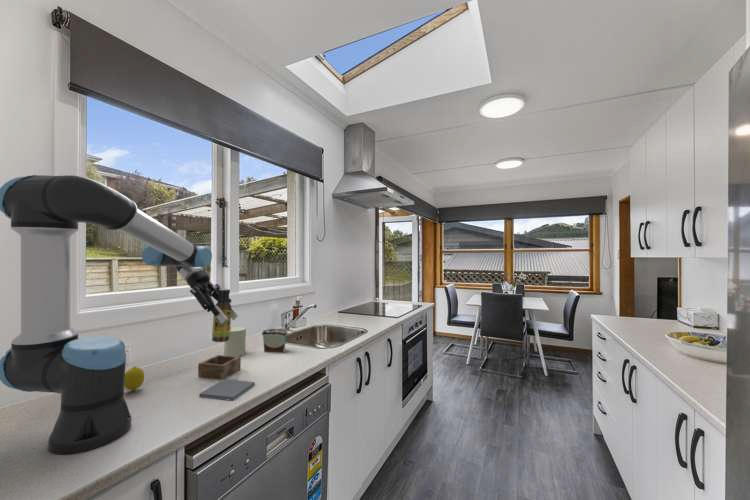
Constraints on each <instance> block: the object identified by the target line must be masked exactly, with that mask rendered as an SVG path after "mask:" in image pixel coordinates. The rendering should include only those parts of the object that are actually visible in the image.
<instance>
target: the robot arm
mask: <svg viewBox="0 0 750 500" xmlns="http://www.w3.org/2000/svg"><path fill="white" fill-rule="evenodd" d="M0 212H1V213H3V214H4V216H5V217H6V218H8V219H10V229H11V230H12V231H14V232H15V233H17V234H18V235H19V236H20V333H19V335H17V336H16V337H14V338H13V339H11V346H10V347H11V348H9V349H8V350H7V351H6V352H5V355H3V356H2V357H1V358H0V382H1V383H2V384H3V385H4V386H6V387H7V388H10V389H12V390H13V389H14V390H18V391H22V392H28V393H31V392H40V393H41V392H42V393H55V394H57V393H58V394H60V412H59V415H58V417H57V419H56V421H55V424H54V426H53V429H52V431H51V433H50V434H49V437H48V446H47V448H48V451H49V453H50V452H51V454H56V455H69V454H70V455H71V454H77V453H81V452H82V453H83V452H86V451H90V450H93V449H96V448H100V447H103V446H105V445H107V444H110V443H112V442H113V441H115V440H117V439H120V438H121V437H122V436H124V435H125V434H126V433H127V432H128V431H130V430H131V427H132V414H131V412H130V409H129V407H128V405H127V402H126V399H125V387H124V381H125V373H126V364H127V363H126V362H127V353H126V345H125V343H124V342H123V341H122V340H121V339H119V338H116V337H110V336H99V337H96V336H91V337H90V336H87V337H81V338H79V331H78V330H77V329H75V328H73V327H72V326H71V237H72V235H74V234H75V233H77V232H78V231H79V223H84V224H85V223H86V224H91V225H96V226H99V227H103V228H104V229H107V230H109V231H119V232H120V233H121V232H122V233H124V234H126V235H127V236H129V237H131V238H133V239H135V240H137V241H139V242H141V243H143V244H145V245H147V246H145V247H144V248H143V250H142V252H141V260H142V262H143V263H144V264H145V265H148V266H152V267H166V268H167V267H169V268H174V269H175V270H176V271H177V272H178V273H179V274H180V276H181V277H182V278H183V281H185V282H186V284H187V285H188V286H189V287H190V288H191V289H190V290H189V293H191V294H192V295H193V296H194V298H195V299H196V301H197V302H198V303H199V305H200V306H201V307H202V309H203V310H205V311H206V312H208V313H209V312H211V313H212V314H213V316H214V315H215V316H216V317H217V319H218V320H219V321H220V322H221V324H222V323H224V322H225V321H226V320H227V319H228V318H227V317H226V316H225V315H224V313H223V312H222V311H221V310H220V308H219V307H218V306H215V305H216V304H215V303H214V300H215V301H216V302H218V297H219V293H218V291H219V289H222V288H221V286H220V284H219V283H216V284H213V283H212V282H211V281H210V276H209V275H208V274H207V272H206V271H205V270H204V267H208V266H209V265H210V264H211V262H212V258H213V253H212V250H211V249H210V248H209V247H207V246H202V245H200V246H199V245H198V246H197V245H196V244H194V243H192V242H191V241H189V240H187V239H186V238H184V237H182V235H180V234H178V233H176V232H175V231H173V230H172V229H170V228H169V227H167V226H165V225H164V224H162V223H161V222H159V221H157V220H156V219H154V218H153V217H151V216H149V215H148V214H147V213H145V212H143V211H142V210H141V209H139V208H138V206H137V204H136V202H135V201H134V200H132V199H130V198H129V197H127V196H125V195H124V194H122V193H120V192H119V191H117V190H115V189H114V188H112V187H110V186H107V184H103V183H102V182H99V181H97V180H94V179H91V178H88V177H85V176H81V175H73V174H71V175H69V174H65V175H51V174H49V175H43V174H41V175H38V174H37V175H36V174H33V175H26V176H19V177H18V176H17V177H14V178H12V179H10V180H8V181H6V182H5V183H4V184H3V185H2V186H1V187H0ZM212 298H213V299H214V300H213V299H212ZM229 303H230V304H231V303H232V299H231V298H230V297H229ZM238 317H239V314H238V312H237V311H236V309H234V307H233V306H232V305H231V320H232V321H235V320H236V319H237V318H238Z"/></svg>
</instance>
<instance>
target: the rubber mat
mask: <svg viewBox="0 0 750 500" xmlns="http://www.w3.org/2000/svg"><path fill="white" fill-rule="evenodd" d="M255 382H256V381H248V380H237V379H228V378H225V379H221V381H218V382H217V383H215V384H214V385H211V386H209V387H208V388H207V389H205V390H203V391H202V392H200V393H199V395H198V396H199V398H207V399H215V398H216V399H219V400H225V399H229V400H228V401H235V400H236V399H238V396H239V397H240V396H241V395H243V394H244V393H246V392H247V391H248V390H249V389H251V388H252V387H254V386H255V384H256V383H255ZM235 398H236V399H235Z"/></svg>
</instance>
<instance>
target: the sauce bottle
mask: <svg viewBox="0 0 750 500" xmlns="http://www.w3.org/2000/svg"><path fill="white" fill-rule="evenodd" d="M218 293H219V297H218V301H216V302H217V303H216V304H215V306H218V307H219V308H220V310H221V311H222V312H223V313H224V315H225V316H226V317H227V318H228V319H227V320H226V321H225V322H224V323H222V324H221V322H220V321H219V320H218V319H217V317H216V316H215V315H214V314H213V319H212V332H211V333H212V334H211V336H212V338H211V341H212V342H215V343H223V342H224V343H225V341H228V340H229V335H230V328H231V326H232V325H231V324H232V323H231V322H232V318H231V306H232V305H231V303H229V298H230V293H231V289H229V288H221V289H219V291H218ZM215 306H214V307H215Z"/></svg>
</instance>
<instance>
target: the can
mask: <svg viewBox="0 0 750 500" xmlns="http://www.w3.org/2000/svg"><path fill="white" fill-rule="evenodd" d="M246 334H247V328H246V327H245V326H232V327H231V326H230V335H229V340H228V341H225V342H224V348H223V349H224V350H223V355H225V356H237V357H241V356H243V355H245V354H246V340H247V339H246V336H247V335H246Z"/></svg>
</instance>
